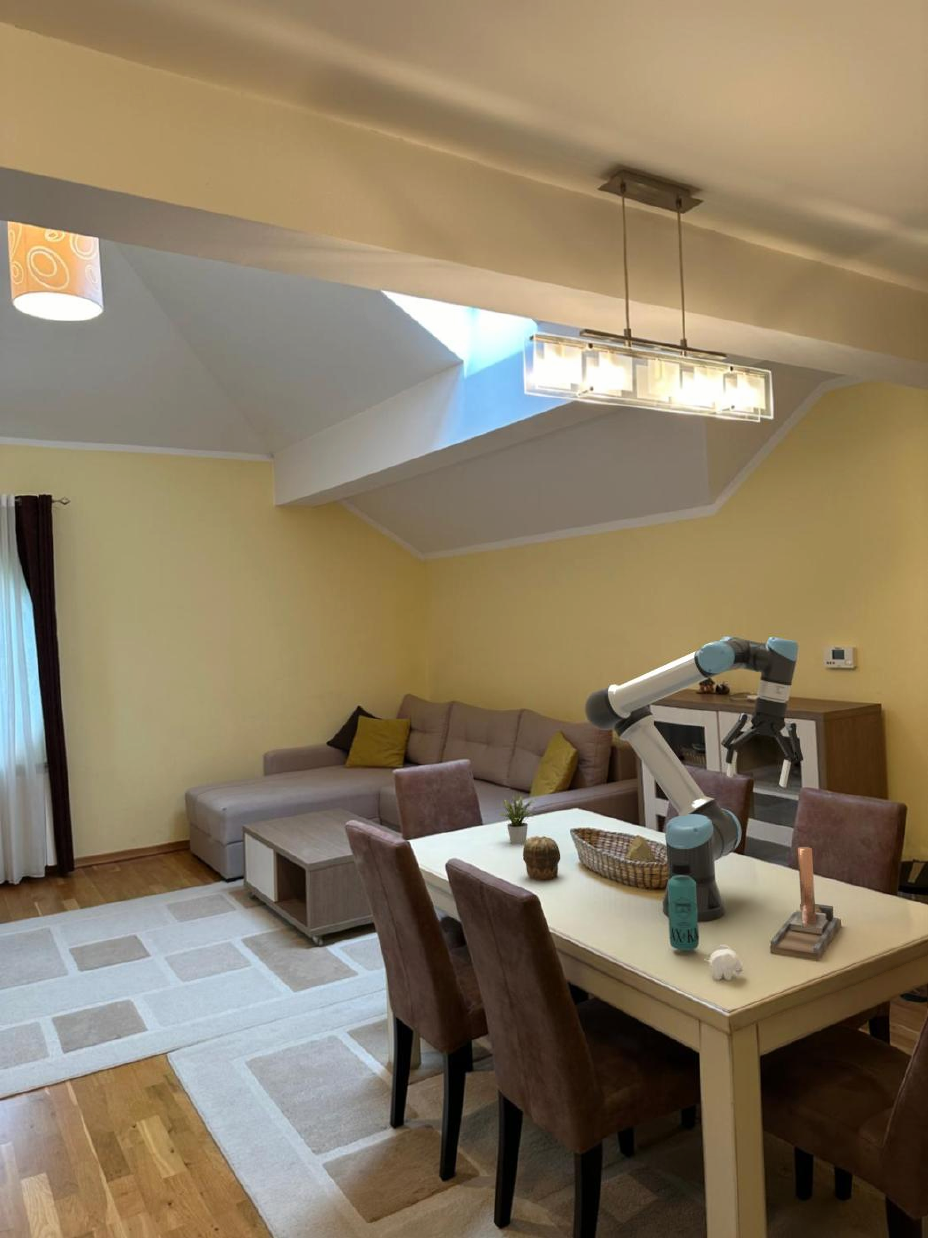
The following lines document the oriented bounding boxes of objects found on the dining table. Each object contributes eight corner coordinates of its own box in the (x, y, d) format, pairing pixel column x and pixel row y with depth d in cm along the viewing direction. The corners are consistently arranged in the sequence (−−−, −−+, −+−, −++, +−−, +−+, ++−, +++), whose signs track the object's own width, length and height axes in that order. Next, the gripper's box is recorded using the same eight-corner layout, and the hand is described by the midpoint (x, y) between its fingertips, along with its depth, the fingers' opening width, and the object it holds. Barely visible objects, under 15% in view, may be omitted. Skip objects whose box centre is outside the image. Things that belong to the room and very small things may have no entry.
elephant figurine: (747, 985, 173) (746, 955, 173) (706, 984, 174) (705, 955, 174) (742, 971, 180) (741, 943, 180) (703, 970, 181) (701, 942, 181)
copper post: (822, 934, 193) (817, 853, 193) (790, 929, 197) (785, 850, 197) (828, 926, 198) (823, 847, 198) (796, 921, 202) (792, 844, 202)
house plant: (542, 848, 286) (539, 799, 287) (500, 850, 287) (498, 801, 287) (538, 837, 301) (536, 791, 301) (499, 839, 301) (497, 793, 301)
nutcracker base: (818, 961, 183) (817, 937, 183) (770, 953, 188) (769, 929, 189) (841, 925, 203) (840, 904, 203) (797, 919, 208) (796, 898, 208)
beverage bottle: (666, 947, 195) (661, 859, 195) (694, 945, 195) (689, 857, 195) (675, 958, 188) (670, 867, 188) (704, 956, 189) (700, 865, 189)
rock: (667, 865, 251) (655, 852, 261) (650, 845, 249) (639, 832, 259) (639, 889, 250) (628, 875, 260) (622, 869, 249) (611, 855, 259)
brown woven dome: (519, 881, 250) (517, 840, 250) (530, 871, 260) (528, 831, 261) (555, 884, 246) (553, 842, 246) (565, 873, 256) (563, 833, 256)
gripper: (727, 692, 211) (711, 776, 213) (827, 710, 211) (810, 793, 212) (719, 688, 219) (703, 769, 220) (815, 705, 219) (798, 786, 220)
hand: (755, 781), depth 216 cm, fingers open, 13 cm apart
